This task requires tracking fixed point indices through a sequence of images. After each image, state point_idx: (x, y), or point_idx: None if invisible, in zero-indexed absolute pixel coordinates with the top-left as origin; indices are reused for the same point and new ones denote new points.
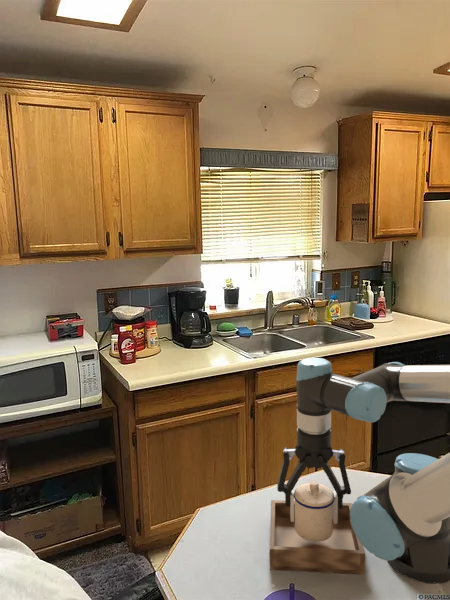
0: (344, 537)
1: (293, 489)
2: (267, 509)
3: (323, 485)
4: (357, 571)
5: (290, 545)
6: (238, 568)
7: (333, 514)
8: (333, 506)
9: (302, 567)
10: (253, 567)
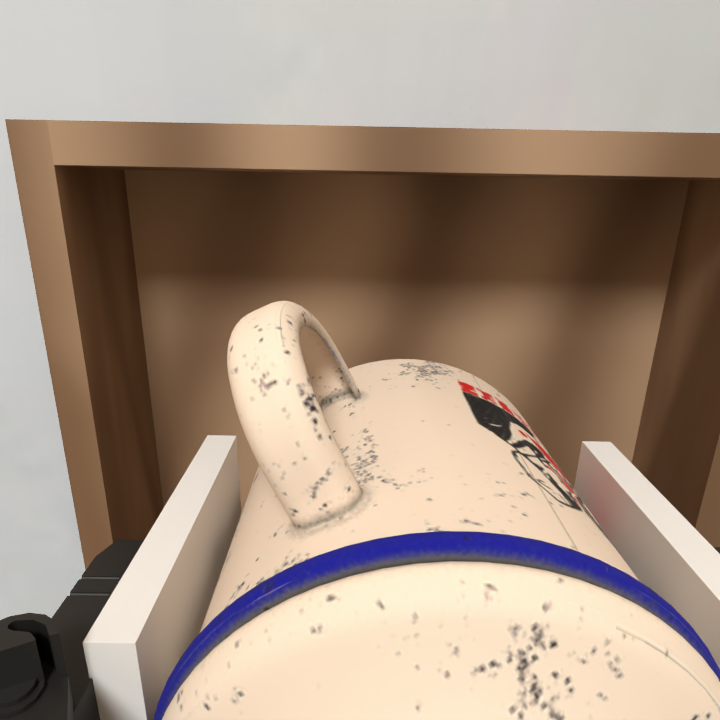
0: (598, 374)
1: (135, 649)
2: (52, 9)
3: (657, 685)
4: None
5: (251, 458)
6: (3, 580)
7: (596, 517)
8: (636, 568)
9: None
10: (75, 571)
